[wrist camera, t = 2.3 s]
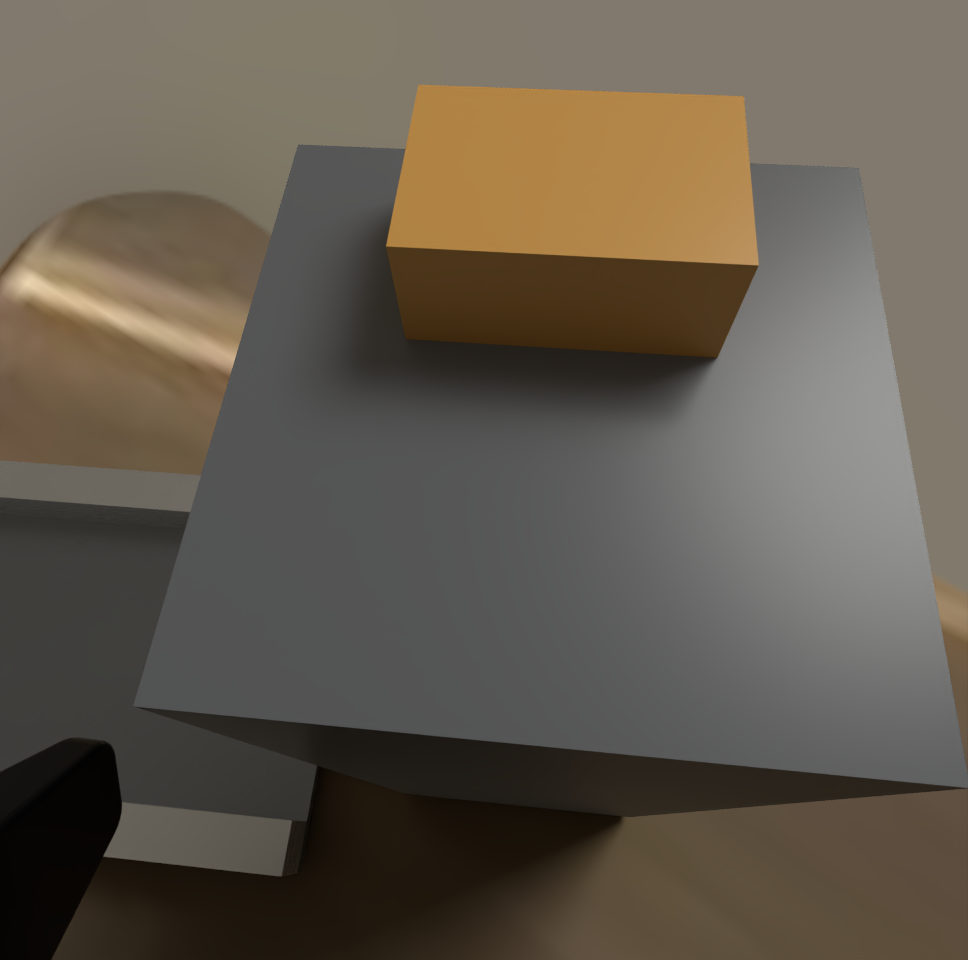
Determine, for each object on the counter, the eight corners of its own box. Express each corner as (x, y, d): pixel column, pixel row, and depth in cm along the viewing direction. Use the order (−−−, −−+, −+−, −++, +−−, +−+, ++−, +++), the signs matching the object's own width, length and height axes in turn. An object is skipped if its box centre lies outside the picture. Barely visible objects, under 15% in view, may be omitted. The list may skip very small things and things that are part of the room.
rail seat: (301, 872, 16) (281, 876, 14) (-175, 818, 16) (-237, 818, 15) (366, 510, 19) (355, 486, 18) (-26, 480, 20) (-64, 455, 19)
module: (629, 817, 16) (1098, 778, 3) (404, 794, 16) (38, 677, 4) (630, 596, 18) (917, 56, 5) (432, 580, 18) (264, 36, 6)
